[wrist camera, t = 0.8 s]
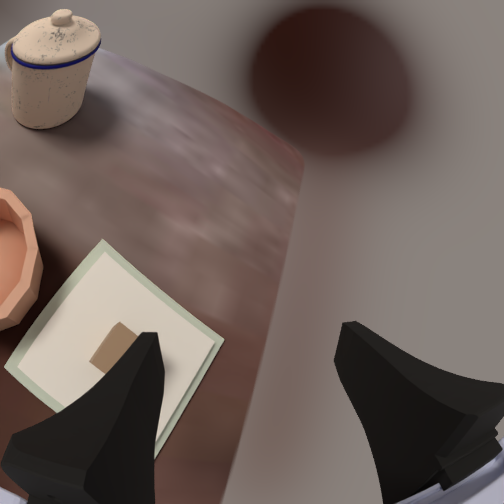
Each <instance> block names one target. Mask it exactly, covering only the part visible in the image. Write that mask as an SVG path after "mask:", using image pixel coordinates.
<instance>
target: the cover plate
mask: <svg viewBox="0 0 504 504" xmlns="http://www.w3.org/2000/svg"><path fill="white" fill-rule="evenodd" d="M142 332H158V338H159V343H160V348H161V354H162V359H163V363H164V368H165V383H164V395H163V401H162V407H161V412H160V418H159V423H158V429H157V435H156V441H157V439H158V437H159V436H160V434H161V432H162V431H163V429H164V427H165V426H166V424H167V422H168V420H169V419H170V417H171V415H172V414H173V412H174V410H175V409H176V407H177V405H178V404H179V402H180V400H181V399H182V397H183V395H184V394H185V392H186V390H187V388H188V387H189V385H190V383H191V382H192V380H193V378H194V377H195V375H196V373H197V371H198V370H199V368H200V366H201V365H202V363H203V361H204V359H205V358H206V356H207V354H208V353H209V351H210V349H211V347H212V346H213V344H214V342H215V341H213V340H212V339H211V338H209V337H208V336H206V335H205V334H204V333H202V332H201V331H200V330H198V329H197V328H196V327H194V326H193V325H192V324H191V323H189V322H188V321H187V320H185V319H184V318H183V317H181V316H180V315H179V314H178V313H176V312H175V311H174V310H173V309H171V308H170V307H169V306H168V305H166V304H165V303H164V302H163V301H161V300H160V299H159V298H158V297H156V296H155V295H154V294H153V293H152V292H150V291H149V290H148V289H147V288H146V287H144V286H143V285H142V284H141V283H140V282H138V281H137V280H136V279H135V278H134V277H133V276H132V275H130V274H129V273H128V272H127V271H126V270H125V269H123V268H122V267H121V266H120V265H119V264H118V263H117V262H116V261H114V260H113V259H112V258H111V257H110V256H109V255H108V254H107V253H106V252H104V253H103V254H102V255H101V256H100V258H99V259H98V260H97V261H96V262H95V263H94V265H93V266H92V267H91V268H90V269H89V270H88V272H87V273H86V274H85V275H84V276H83V278H82V279H81V280H80V281H79V283H78V284H77V285H76V286H75V287H74V289H73V290H72V291H71V292H70V294H69V295H68V296H67V298H66V299H65V300H64V301H63V303H62V304H61V305H60V307H59V308H58V309H57V310H56V312H55V313H54V314H53V316H52V317H51V319H50V320H49V321H48V323H47V324H46V325H45V327H44V328H43V329H42V331H41V332H40V334H39V335H38V337H37V338H36V339H35V341H34V342H33V344H32V345H31V347H30V348H29V350H28V351H27V353H26V354H25V356H24V357H23V359H22V360H21V362H20V363H19V365H18V366H17V367H18V368H19V369H20V370H21V371H22V372H23V373H24V374H25V375H27V376H28V377H29V378H30V379H31V380H32V381H33V382H35V383H36V384H37V385H38V386H39V387H40V388H42V389H43V390H44V391H45V392H46V393H48V394H49V395H50V396H51V397H53V398H54V399H55V400H56V401H58V402H59V403H60V404H62V405H63V406H64V407H67V406H68V405H70V404H71V403H73V402H74V401H76V400H77V399H78V398H80V397H81V396H82V395H83V394H85V393H86V392H87V391H88V390H89V389H91V388H92V387H93V386H94V385H95V384H96V383H97V382H98V381H99V380H100V379H101V378H102V377H103V376H104V375H105V374H106V373H107V372H108V371H109V370H110V369H111V368H112V367H113V366H114V364H115V363H116V362H117V361H118V360H119V359H120V358H121V356H122V355H123V354H124V353H125V352H126V350H127V349H128V348H129V347H130V346H131V344H132V343H133V342H134V341H135V339H136V338H137V337H138V336H139V335H140V334H141V333H142Z"/></svg>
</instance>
